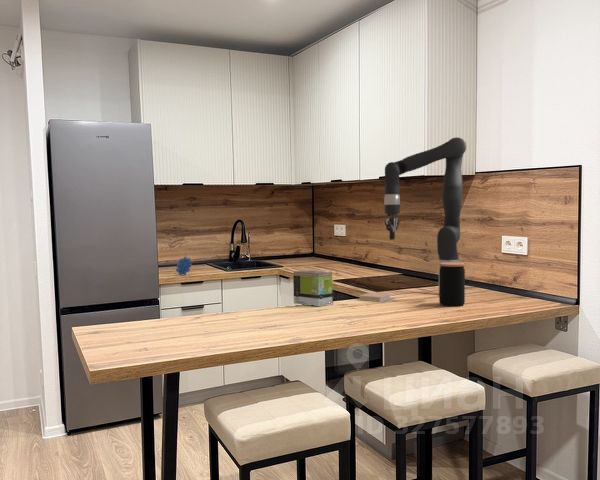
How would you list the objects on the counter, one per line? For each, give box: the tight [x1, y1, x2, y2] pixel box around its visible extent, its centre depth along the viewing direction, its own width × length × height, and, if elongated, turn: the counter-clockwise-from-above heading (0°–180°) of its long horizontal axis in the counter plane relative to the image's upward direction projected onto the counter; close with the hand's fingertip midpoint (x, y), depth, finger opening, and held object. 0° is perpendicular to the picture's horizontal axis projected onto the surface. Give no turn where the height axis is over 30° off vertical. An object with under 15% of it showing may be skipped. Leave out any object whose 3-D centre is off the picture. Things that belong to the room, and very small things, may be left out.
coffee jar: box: [438, 262, 466, 308], centre depth 244 cm, size 11×11×18 cm
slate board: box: [355, 297, 397, 303], centre depth 253 cm, size 14×14×2 cm
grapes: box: [175, 256, 193, 275], centre depth 374 cm, size 12×7×12 cm, turn 134°
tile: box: [359, 292, 391, 303], centre depth 252 cm, size 10×2×10 cm
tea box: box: [292, 269, 333, 307], centre depth 250 cm, size 15×10×15 cm, turn 47°
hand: (392, 239), depth 275 cm, fingers closed
